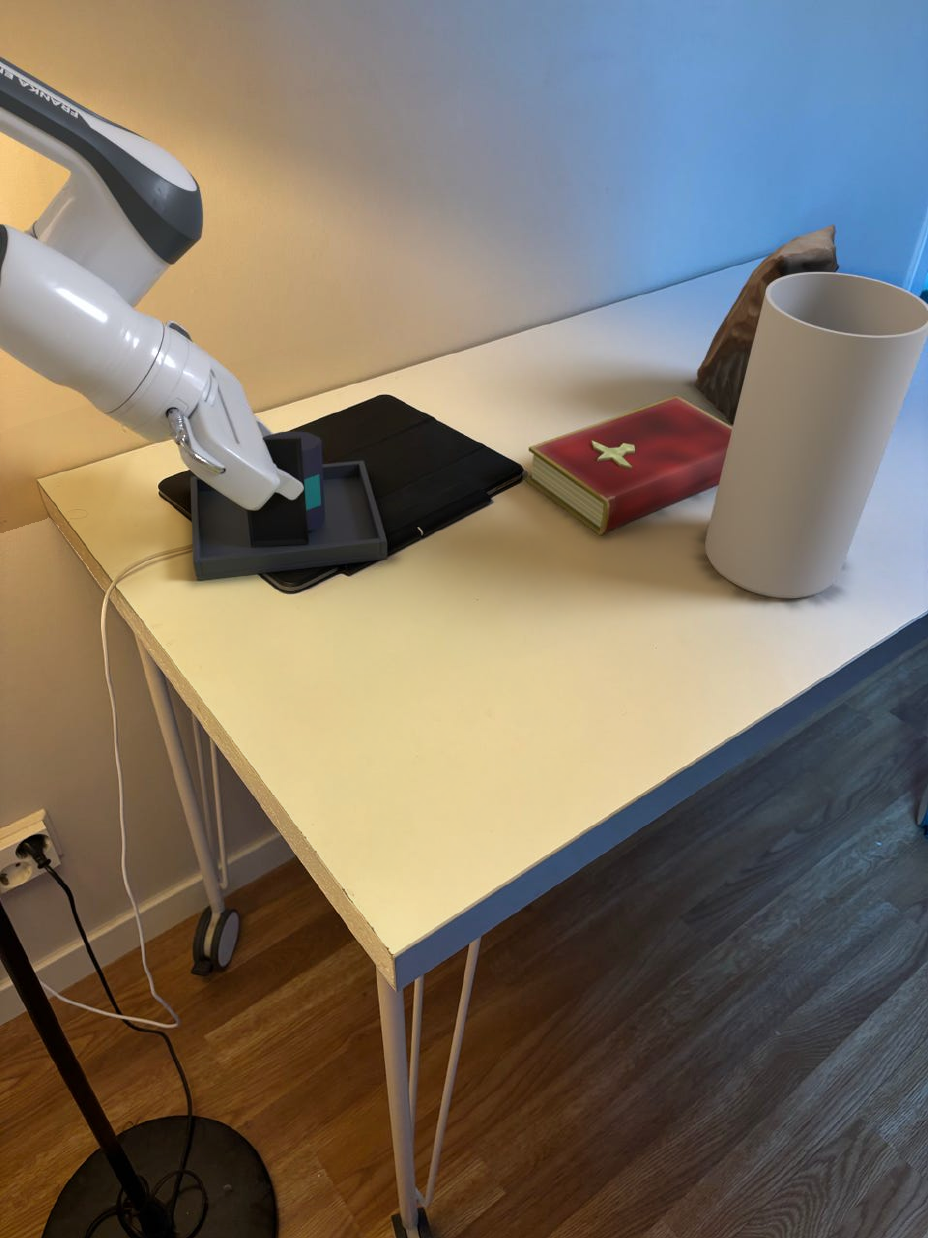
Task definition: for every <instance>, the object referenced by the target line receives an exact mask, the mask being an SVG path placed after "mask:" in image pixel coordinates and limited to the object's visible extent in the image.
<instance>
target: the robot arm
mask: <svg viewBox="0 0 928 1238" xmlns="http://www.w3.org/2000/svg"><path fill="white" fill-rule="evenodd" d="M0 133H1V134H3V135H5V136H7V137H8V138H10V139H13V140H14V141H16V142H18V143H20V144H21V145H23V146H25V147H27V148H29V149H30V150H32V151H34V152H36V153H38V154H39V155H41V156H43V157H45V158H47V159H48V160H50V161H52V162H53V163H56V164H58V165H59V166H61V167H63V168H65V169H66V170H68V171H69V172H70V174H69V177H68V179H67V181H66V182H65V183H64V184H63V186H62V187H61V188H60V189H59V191H58V192H57V193H56V195H55V196H54V197H53V199H52V200H51V201H50V203H49V204H48V205H47V207H46V208H45V209H44V210H43V212H42V213H41V214H40V215H39V217H38V219H37V220H34V222H33V223H32V224H31V226H30V227H29V228H28V230H27V229H26V230H24V231H22V230H20V229H18V228H16V227H14V226H11V225H9V224H5V223H0V349H1V350H2V351H3V352H5V353H6V354H7V355H9V356H10V357H12V358H13V359H14V360H16V361H17V362H19V363H21V364H22V365H24V366H26V367H27V368H28V369H30V370H31V371H34V372H35V373H36V374H38V375H40V376H41V377H43V378H44V379H46V380H48V381H49V382H51V383H53V384H55V385H58V386H61V387H64V388H68V389H70V390H73V391H76V392H77V393H79V394H80V395H81V396H83V397H84V398H85V399H86V400H87V401H88V402H90V404H91V405H92V406H93V407H94V408H95V409H96V410H98V411H99V412H100V413H102V414H104V415H106V416H107V417H108V418H110V419H112V420H114V421H116V422H117V423H119V424H120V425H122V426H123V427H125V428H126V429H128V430H130V431H131V432H133V433H135V434H136V435H138V436H140V437H141V438H144V439H145V440H146V441H148V442H150V443H154V444H156V443H161V442H164V441H165V440H168V439H169V438H172V440H173V442H174V444H176V445H177V448H178V451H179V455H180V458H181V460H182V462H183V464H184V465H185V466H186V468H188V469H189V470H190V472H191V473H193V474H194V476H198V477H199V478H200V479H202V480H203V481H204V482H206V483H207V484H209V485H210V486H212V487H213V488H214V489H216V490H217V491H219V492H220V493H222V494H223V495H225V496H226V497H228V498H229V499H231V500H232V501H234V502H235V503H237V504H238V505H240V506H241V507H243V508H245V509H248V510H259V509H260V508H261V507H262V506H263V505H264V504H265V503H266V502H267V501H268V500H269V498H270V497H271V496H272V495H273V494H274V492H277V493H280V494H282V495H283V496H285V497H286V498H288V499H290V500H294V499H296V498H297V497H298V496H299V495H300V493H301V492H302V491H303V489H304V486H303V485H302V482H301V481H300V480H299V479H298V478H297V477H296V476H294V475H293V474H292V473H290V472H289V471H287V472H284V471H282V470H280V469H278V468H277V467H276V465H275V464H274V463H273V461H272V459H271V456H270V454H269V451H268V449H267V446H266V444H265V442H264V440H263V437H265V436H268V435H272V434H275V433H274V432H273V431H272V430H271V429H270V428H269V427H268V426H267V425H266V424H265V423H264V422H263V421H262V420H261V419H260V418H259V417H258V416H257V415H256V414H254V412H253V409H252V407H251V404H250V402H249V400H248V397H247V394H246V392H245V389H244V386H243V385H242V383H241V382H240V381H239V380H238V379H237V377H236V376H235V375H234V374H233V373H232V372H231V371H230V370H229V369H227V367H225V366H224V365H223V364H221V363H220V362H219V361H218V360H217V359H216V358H214V357H213V356H212V355H210V354H209V353H208V352H207V351H206V350H204V349H203V348H202V347H200V346H199V345H198V344H197V343H195V342H194V341H193V340H192V338H191V335H190V334H189V332H188V330H187V329H185V328H184V327H183V326H182V325H180V324H179V323H178V322H176V321H174V320H171V319H168V320H167V321H166V322H165V323H164V322H162V321H161V320H160V319H158V318H157V317H154V316H152V315H150V314H146V313H143V312H142V311H139V310H138V309H135V308H136V307H137V306H138V305H139V303H141V301H142V300H143V299H144V298H145V296H146V295H147V294H148V293H149V292H150V290H151V289H152V288H153V287H154V286H155V285H156V283H157V282H158V281H159V280H160V279H161V277H163V275H164V274H165V273H166V272H167V271H168V269H169V268H170V267H171V266H173V265H174V264H176V263H177V262H178V261H179V260H180V259H182V258H183V256H184V255H185V254H187V252H188V251H189V250H190V249H192V248H193V246H195V245H196V244H197V243H198V242H199V241H200V240H201V239H202V236H203V230H204V229H203V226H204V206H203V199H202V198H203V197H202V194H201V189H200V185H199V183H198V181H197V179H195V177H194V176H193V174H192V173H191V172H190V171H189V170H188V169H187V168H186V167H185V166H184V165H183V163H181V161H180V160H178V159H177V158H176V157H175V155H173V154H172V153H171V152H169V151H168V150H166V149H165V148H163V146H160V145H159V144H157V143H155V142H153V141H151V140H150V139H148V138H146V137H144V136H142V135H140V134H139V133H136V132H135V131H132V130H130V129H128V128H126V127H124V126H123V125H120V124H119V123H116V122H114V121H112V120H109V119H108V118H105V117H103V116H102V115H99V114H98V113H96V112H95V111H92V110H91V109H89V108H87V107H85V106H84V105H82V104H81V103H79V102H77V101H75V100H73V99H72V98H70V97H69V96H66V95H65V94H63V93H62V92H60V91H59V90H57V89H55V88H54V87H52V86H51V85H49V84H47V83H45V82H43V80H40V79H39V78H37V77H35V76H34V75H33V74H30V73H29V72H27V71H26V70H23V69H22V68H20V67H18V66H17V65H15V64H13V63H12V62H11V61H8V60H7V59H5V58H3V57H2V56H0Z"/></svg>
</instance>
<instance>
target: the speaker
mask: <svg viewBox="0 0 928 1238" xmlns="http://www.w3.org/2000/svg"><path fill="white" fill-rule="evenodd" d="M263 440H264V442H265V444H266V446H267V449H268V451H269V454H270V456H271V459H272V461H273V463H274V464H275V465H276V467H277V468H278V469H280V470H282V471H284V472H287V471H289V472H290V473H292V474H293V475H294V476H296V477H297V478H298V479H299V480H300V481H301V482H302V485H303V486H304V489H303V491H302V492H301V493H300V495H299V496H298V497H297V498H296V499H294V500H290V499H288V498H286V497H285V496H283V495H282V494H280V493H277V492H274V494H273V495H272V496H271V497H270V498H269V500H268V501H267V502H266V503H265V504H264V505H263V506H262V507H261V508H260V509H259V510H248V509H247V516H248V525H249V534H250V543H251V547H252V546H274V545H297V544H309V539H308V531H311V530H313V529H316V528H319V527H320V526H321V525H322V523H323V522H324V521H325V503H324V485H323V466H322V464H323V452H322V451H323V450H322V439H321V438H320V436H317V435H315V434H313V433H310V432H307V431H295V430H287V431H279V432H276V433H274V434H272V435H268V436H265V437H263Z"/></svg>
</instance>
